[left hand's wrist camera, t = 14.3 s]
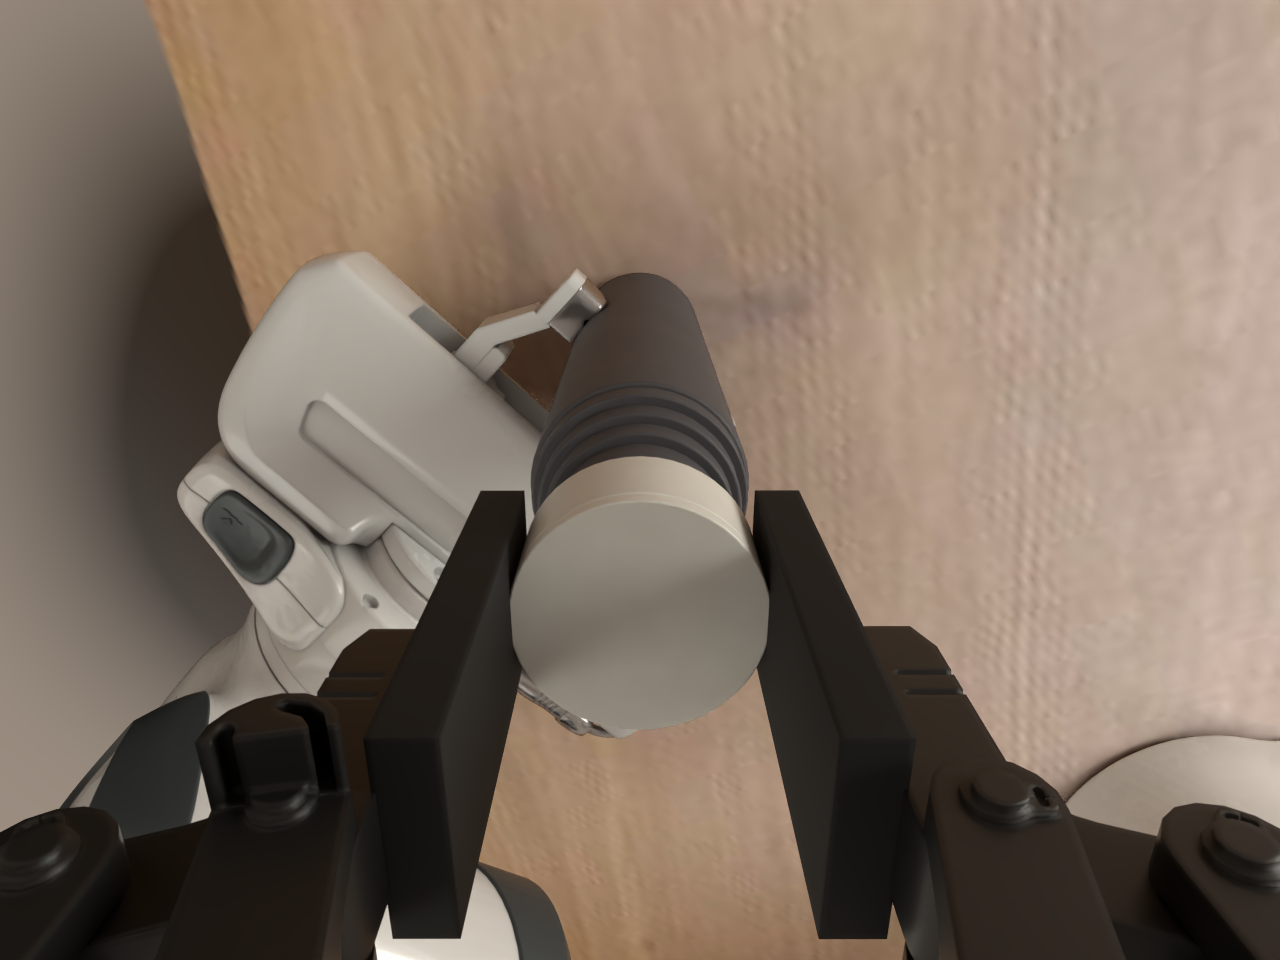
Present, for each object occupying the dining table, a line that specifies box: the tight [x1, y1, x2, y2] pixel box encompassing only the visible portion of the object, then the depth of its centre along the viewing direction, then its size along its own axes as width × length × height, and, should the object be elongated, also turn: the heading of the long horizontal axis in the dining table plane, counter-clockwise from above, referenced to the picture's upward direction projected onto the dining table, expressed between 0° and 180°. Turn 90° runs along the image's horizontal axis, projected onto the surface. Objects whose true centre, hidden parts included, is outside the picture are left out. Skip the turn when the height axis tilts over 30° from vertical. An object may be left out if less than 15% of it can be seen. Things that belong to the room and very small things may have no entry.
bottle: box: [531, 273, 749, 517], centre depth 24 cm, size 5×5×22 cm
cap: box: [510, 456, 769, 730], centre depth 14 cm, size 4×4×2 cm
